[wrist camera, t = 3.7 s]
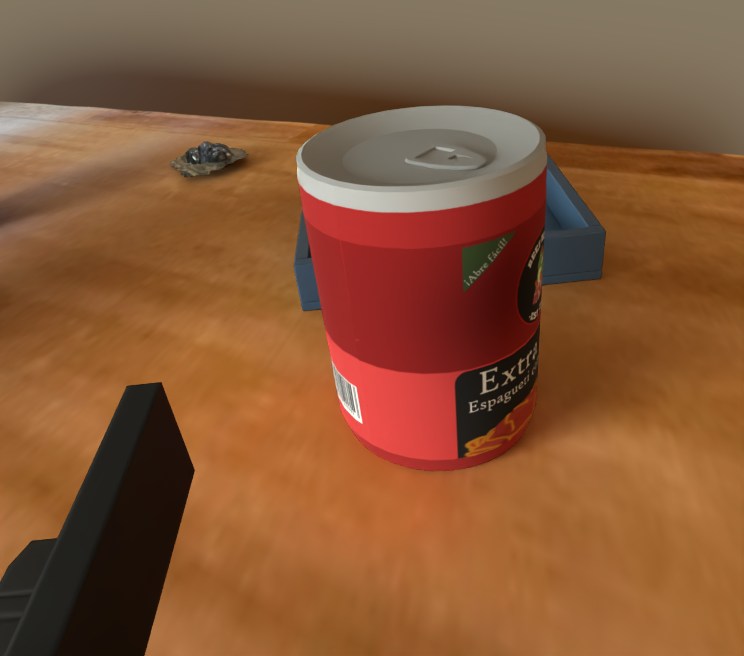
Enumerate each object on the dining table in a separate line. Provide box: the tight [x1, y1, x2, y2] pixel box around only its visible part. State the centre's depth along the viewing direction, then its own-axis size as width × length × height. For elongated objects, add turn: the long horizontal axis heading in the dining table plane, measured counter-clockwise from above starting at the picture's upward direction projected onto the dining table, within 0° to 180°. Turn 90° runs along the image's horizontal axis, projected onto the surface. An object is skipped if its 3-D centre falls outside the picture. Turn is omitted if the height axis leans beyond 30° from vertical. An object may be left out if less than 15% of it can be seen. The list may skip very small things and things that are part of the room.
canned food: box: [296, 106, 547, 471], centre depth 23 cm, size 8×8×11 cm
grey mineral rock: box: [170, 142, 248, 177], centre depth 54 cm, size 7×8×2 cm
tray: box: [294, 154, 606, 311], centre depth 39 cm, size 16×15×3 cm
